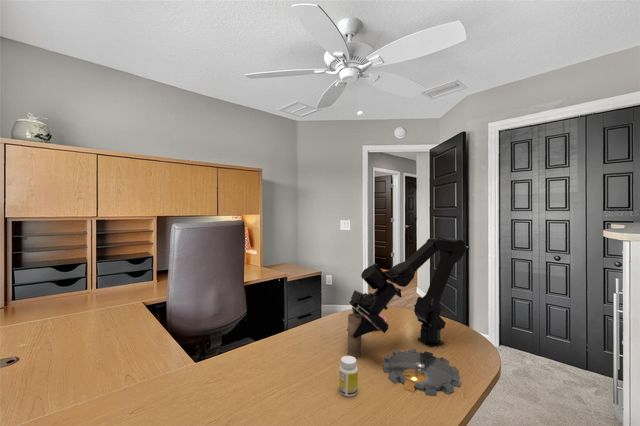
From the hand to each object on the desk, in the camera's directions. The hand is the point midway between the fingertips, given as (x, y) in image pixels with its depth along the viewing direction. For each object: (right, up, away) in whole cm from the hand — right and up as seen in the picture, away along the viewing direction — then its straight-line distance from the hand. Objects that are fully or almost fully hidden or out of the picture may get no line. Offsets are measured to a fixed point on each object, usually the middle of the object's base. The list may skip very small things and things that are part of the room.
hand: (350, 334), depth 94 cm
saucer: (+11, -7, +24) cm, 27 cm away
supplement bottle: (-3, -7, -19) cm, 21 cm away
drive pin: (+1, -7, +1) cm, 7 cm away
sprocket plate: (+19, -7, -10) cm, 23 cm away
